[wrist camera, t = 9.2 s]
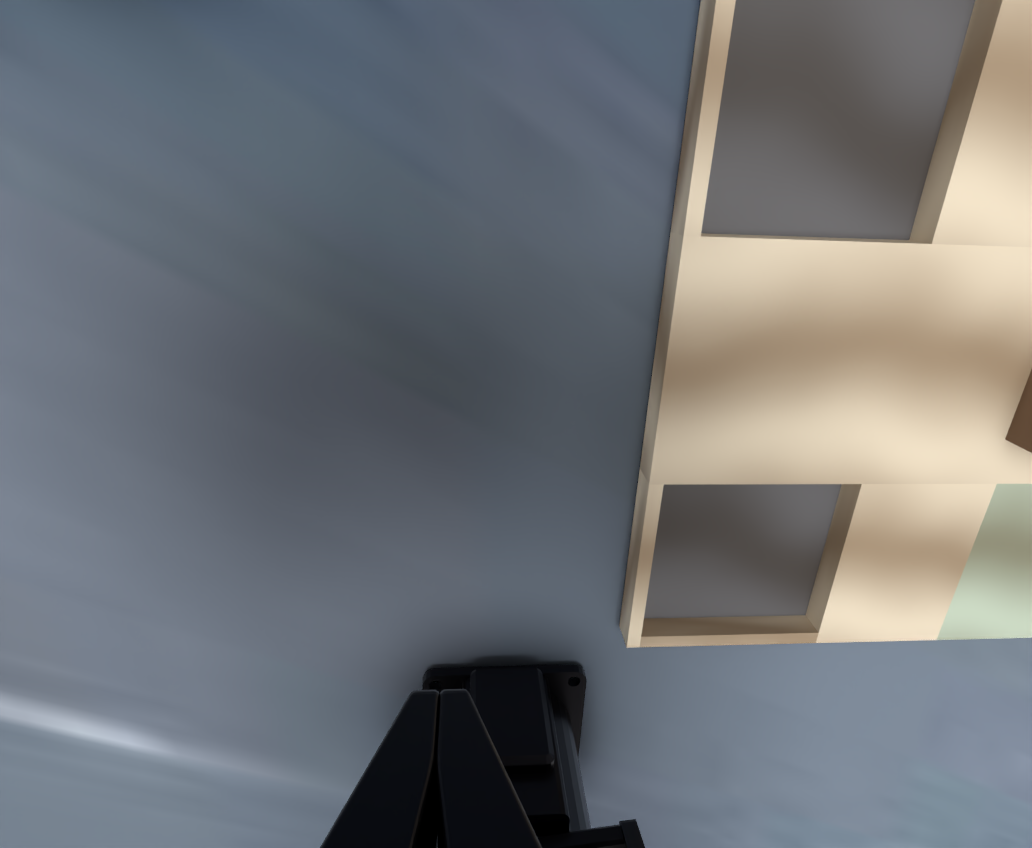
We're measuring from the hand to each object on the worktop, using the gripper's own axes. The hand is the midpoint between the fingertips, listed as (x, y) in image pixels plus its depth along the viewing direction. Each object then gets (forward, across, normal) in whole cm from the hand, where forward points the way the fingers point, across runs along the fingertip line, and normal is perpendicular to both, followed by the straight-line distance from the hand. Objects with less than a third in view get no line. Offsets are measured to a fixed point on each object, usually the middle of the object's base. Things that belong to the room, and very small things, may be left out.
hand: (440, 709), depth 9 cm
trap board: (+12, -16, -2) cm, 20 cm away
